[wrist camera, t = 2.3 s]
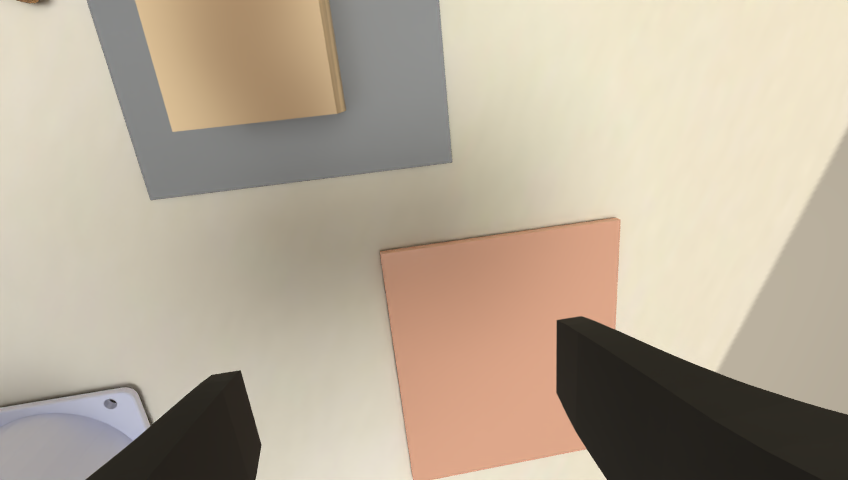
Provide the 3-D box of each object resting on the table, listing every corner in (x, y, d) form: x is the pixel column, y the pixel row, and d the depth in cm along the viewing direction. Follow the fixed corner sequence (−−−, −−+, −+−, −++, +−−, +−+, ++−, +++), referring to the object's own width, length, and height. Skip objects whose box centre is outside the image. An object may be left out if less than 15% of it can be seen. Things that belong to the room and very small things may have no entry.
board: (412, 476, 23) (413, 483, 22) (379, 251, 18) (380, 254, 18) (605, 439, 24) (609, 444, 23) (615, 217, 20) (620, 219, 19)
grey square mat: (152, 199, 17) (150, 200, 16) (30, -187, 13) (25, -191, 13) (451, 161, 18) (452, 162, 18) (421, -202, 14) (422, -207, 14)
